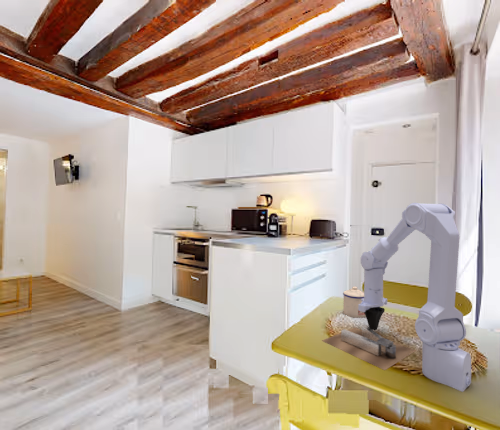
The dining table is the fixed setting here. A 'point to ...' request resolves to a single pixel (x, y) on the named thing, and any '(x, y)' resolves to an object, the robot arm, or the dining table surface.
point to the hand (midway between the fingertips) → (373, 329)
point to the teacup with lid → (353, 303)
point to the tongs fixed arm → (365, 342)
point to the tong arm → (372, 335)
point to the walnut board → (369, 357)
